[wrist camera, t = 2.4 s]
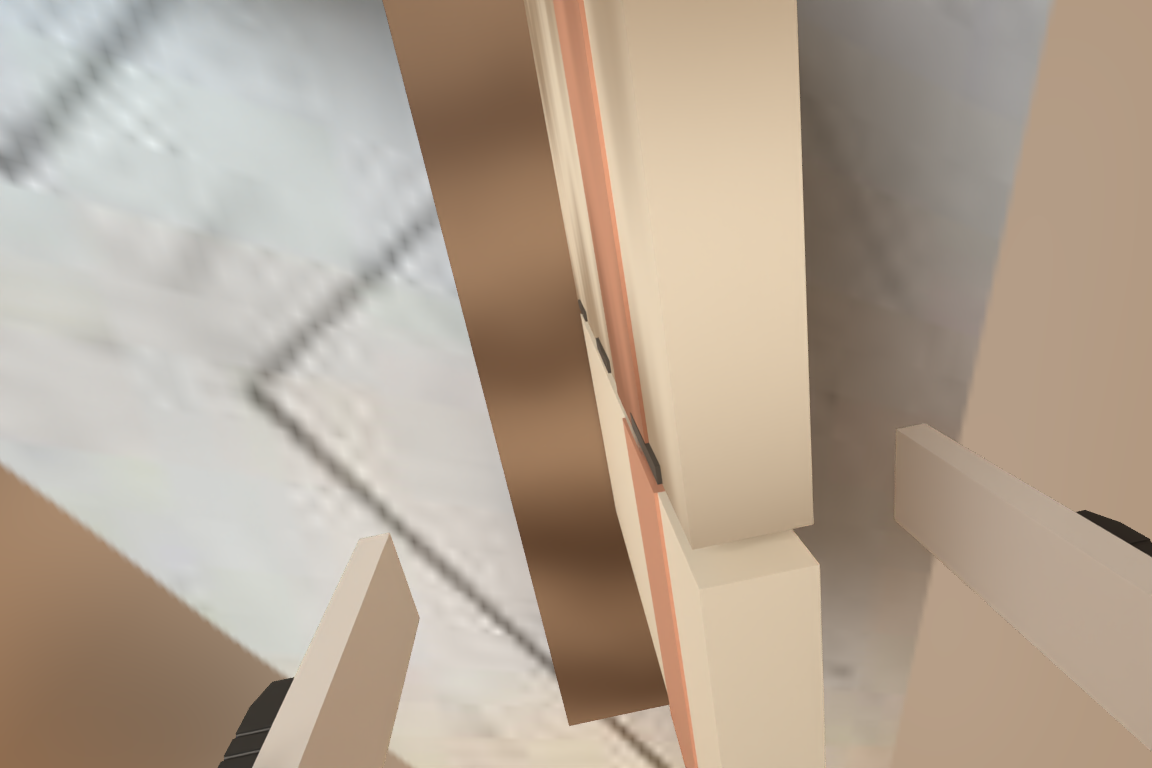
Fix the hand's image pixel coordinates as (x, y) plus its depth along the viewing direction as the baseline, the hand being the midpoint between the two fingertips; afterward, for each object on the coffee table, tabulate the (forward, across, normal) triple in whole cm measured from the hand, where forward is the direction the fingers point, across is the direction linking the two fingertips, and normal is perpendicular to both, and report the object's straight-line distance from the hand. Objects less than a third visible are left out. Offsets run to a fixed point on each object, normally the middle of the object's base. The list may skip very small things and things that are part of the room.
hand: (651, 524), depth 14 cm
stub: (+4, 0, +1) cm, 4 cm away
